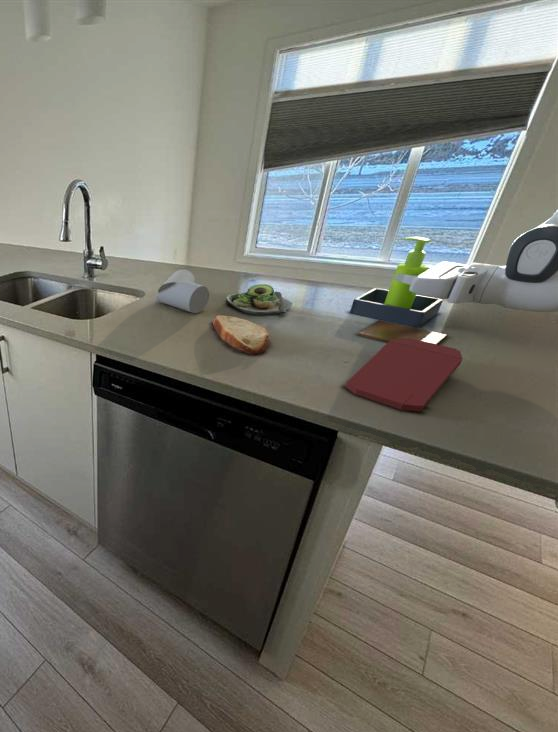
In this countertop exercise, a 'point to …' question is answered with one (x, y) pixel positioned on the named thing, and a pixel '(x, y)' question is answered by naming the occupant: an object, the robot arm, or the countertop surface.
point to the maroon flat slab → (405, 373)
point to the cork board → (400, 333)
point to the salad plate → (259, 301)
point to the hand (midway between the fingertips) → (403, 272)
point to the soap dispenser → (412, 266)
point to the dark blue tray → (395, 308)
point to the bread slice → (242, 334)
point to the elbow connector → (183, 292)
